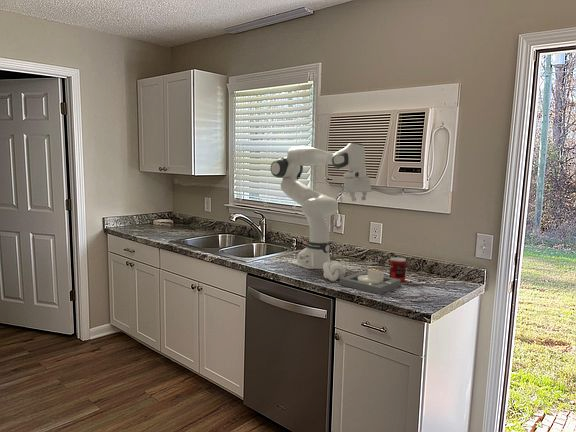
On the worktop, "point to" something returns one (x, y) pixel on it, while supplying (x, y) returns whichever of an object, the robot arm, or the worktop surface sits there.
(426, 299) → the worktop surface
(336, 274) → the white decorative knot
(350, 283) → the panel
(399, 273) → the canned food
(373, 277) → the dial
